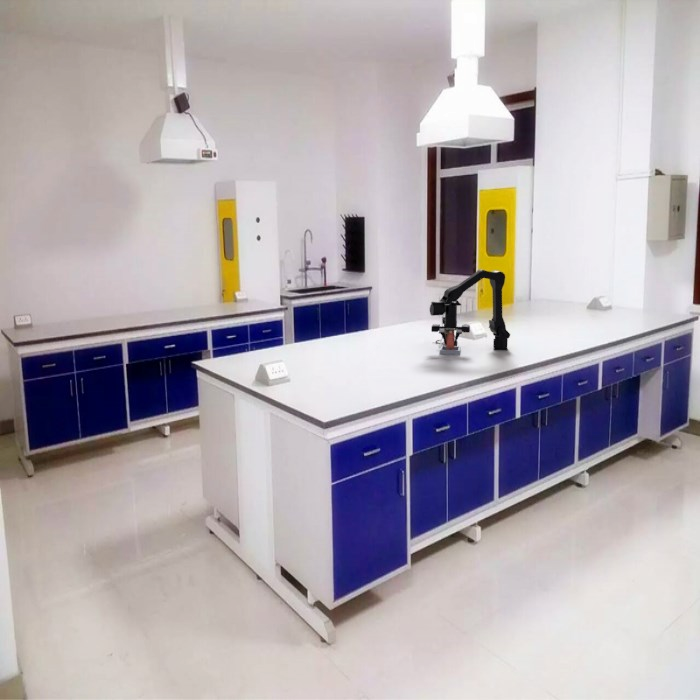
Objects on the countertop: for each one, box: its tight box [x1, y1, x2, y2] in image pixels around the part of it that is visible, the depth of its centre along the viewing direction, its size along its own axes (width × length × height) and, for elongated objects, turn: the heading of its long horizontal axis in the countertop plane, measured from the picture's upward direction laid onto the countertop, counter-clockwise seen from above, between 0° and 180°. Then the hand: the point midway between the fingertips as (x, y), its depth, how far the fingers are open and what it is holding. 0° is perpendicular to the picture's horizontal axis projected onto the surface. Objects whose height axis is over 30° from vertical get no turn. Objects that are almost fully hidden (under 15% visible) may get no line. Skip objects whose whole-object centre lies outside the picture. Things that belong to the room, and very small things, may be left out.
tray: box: [439, 345, 462, 356], centre depth 317 cm, size 10×10×2 cm
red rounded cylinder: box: [446, 331, 456, 350], centre depth 316 cm, size 4×4×9 cm
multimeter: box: [432, 316, 456, 345], centre depth 335 cm, size 15×10×20 cm
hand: (450, 345), depth 317 cm, fingers open, 4 cm apart
